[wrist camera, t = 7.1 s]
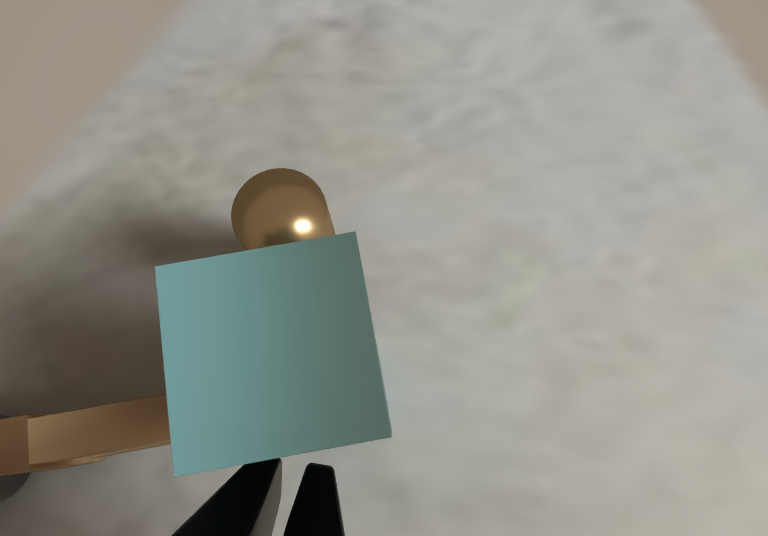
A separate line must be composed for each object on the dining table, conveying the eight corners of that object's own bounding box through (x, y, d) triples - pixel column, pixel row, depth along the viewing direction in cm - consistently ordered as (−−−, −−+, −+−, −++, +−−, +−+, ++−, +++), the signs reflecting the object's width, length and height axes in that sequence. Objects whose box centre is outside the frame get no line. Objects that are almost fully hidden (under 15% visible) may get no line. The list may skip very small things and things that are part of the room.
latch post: (332, 320, 19) (306, 272, 13) (270, 298, 19) (216, 241, 13) (356, 259, 19) (340, 185, 13) (294, 237, 19) (253, 156, 14)
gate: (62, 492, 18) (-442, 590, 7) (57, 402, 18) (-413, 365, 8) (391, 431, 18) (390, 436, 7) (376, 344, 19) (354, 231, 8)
